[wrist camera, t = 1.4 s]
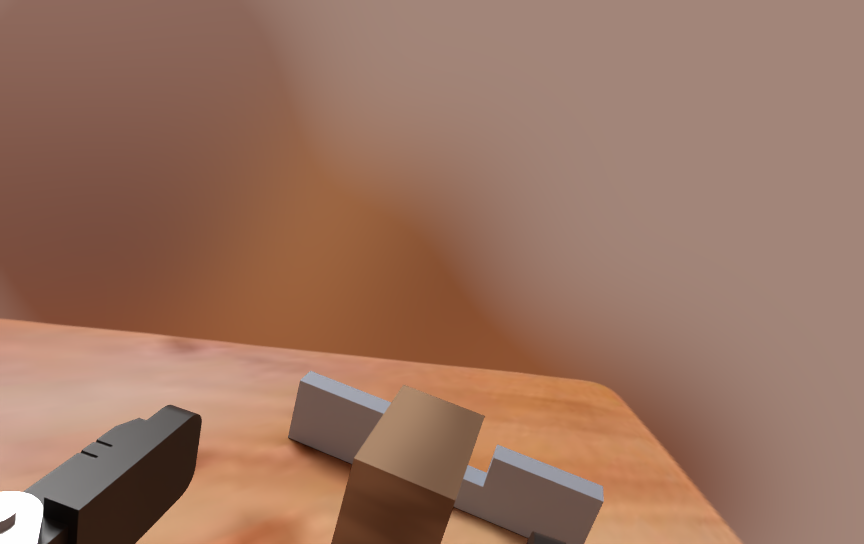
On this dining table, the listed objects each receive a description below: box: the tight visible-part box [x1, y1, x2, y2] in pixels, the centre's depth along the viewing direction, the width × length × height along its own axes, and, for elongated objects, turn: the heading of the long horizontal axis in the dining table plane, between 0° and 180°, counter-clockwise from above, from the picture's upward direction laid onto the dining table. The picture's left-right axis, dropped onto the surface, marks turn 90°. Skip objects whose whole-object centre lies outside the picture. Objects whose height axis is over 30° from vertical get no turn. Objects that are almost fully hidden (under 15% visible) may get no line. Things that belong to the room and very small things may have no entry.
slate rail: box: [288, 371, 604, 544], centre depth 40 cm, size 22×2×5 cm, turn 74°
